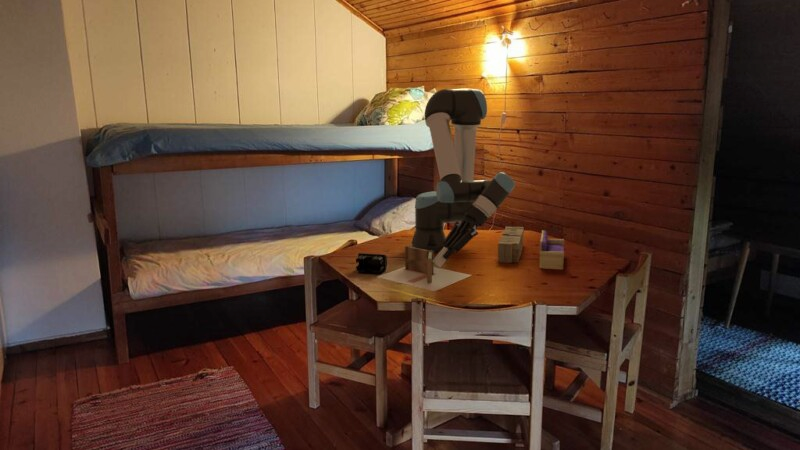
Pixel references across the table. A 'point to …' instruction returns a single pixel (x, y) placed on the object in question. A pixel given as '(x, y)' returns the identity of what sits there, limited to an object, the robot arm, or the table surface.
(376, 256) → the end cap
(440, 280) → the card
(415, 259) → the fence fixed
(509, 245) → the block tower
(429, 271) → the fence gate
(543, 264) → the toy sofa
